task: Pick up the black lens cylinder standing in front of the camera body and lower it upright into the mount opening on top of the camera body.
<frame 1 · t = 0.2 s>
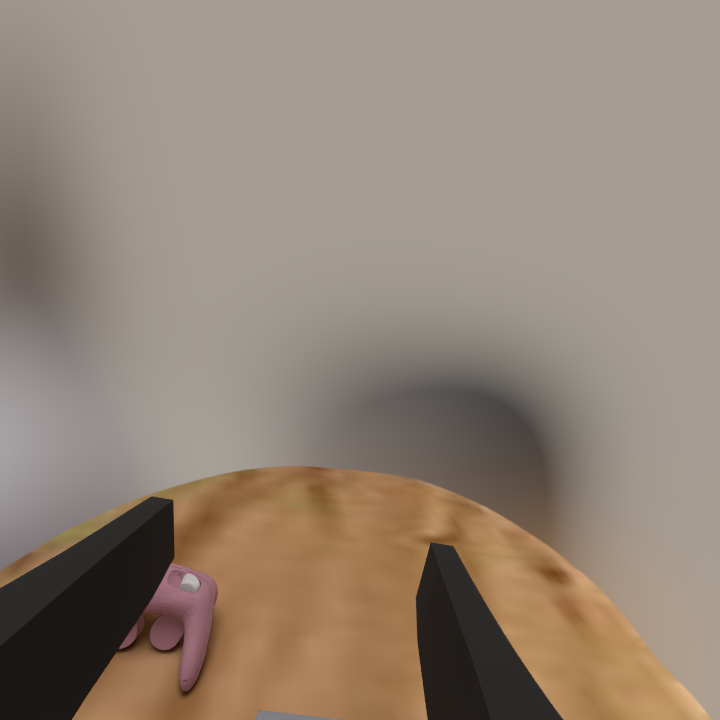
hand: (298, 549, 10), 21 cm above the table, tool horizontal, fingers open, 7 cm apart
pink rounded piece: (143, 651, 26), on the table
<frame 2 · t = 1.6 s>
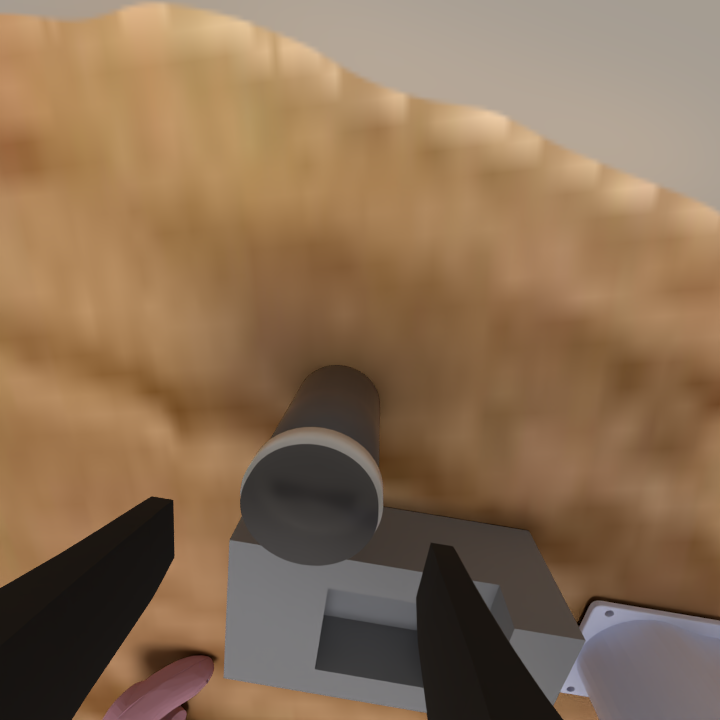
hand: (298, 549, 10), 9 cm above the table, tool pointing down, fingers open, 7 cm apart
lens: (338, 404, 19), on the table
camera body: (378, 572, 22), on the table
pink rounded piece: (185, 687, 27), on the table
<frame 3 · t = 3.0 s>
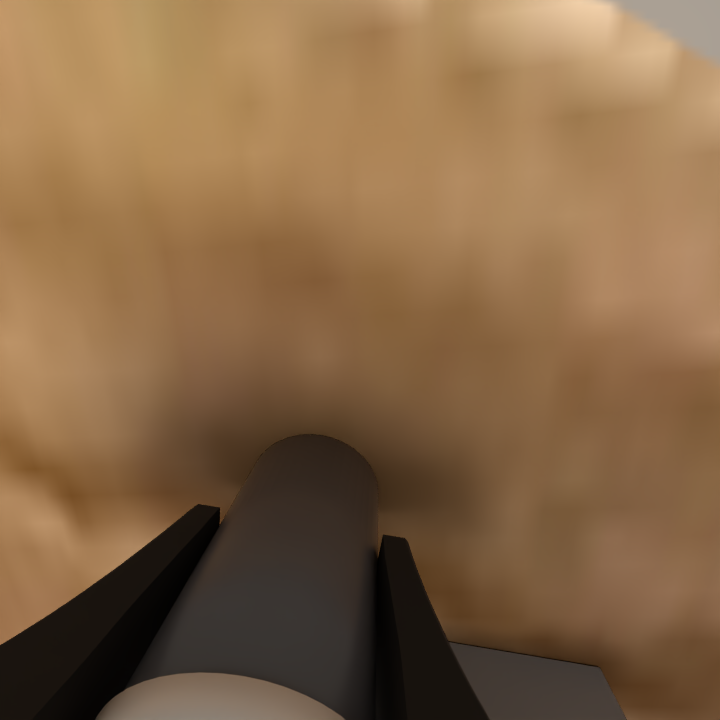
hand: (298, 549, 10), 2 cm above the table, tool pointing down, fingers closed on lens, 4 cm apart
lens: (314, 491, 12), on the table, touching gripper
camera body: (377, 713, 15), on the table
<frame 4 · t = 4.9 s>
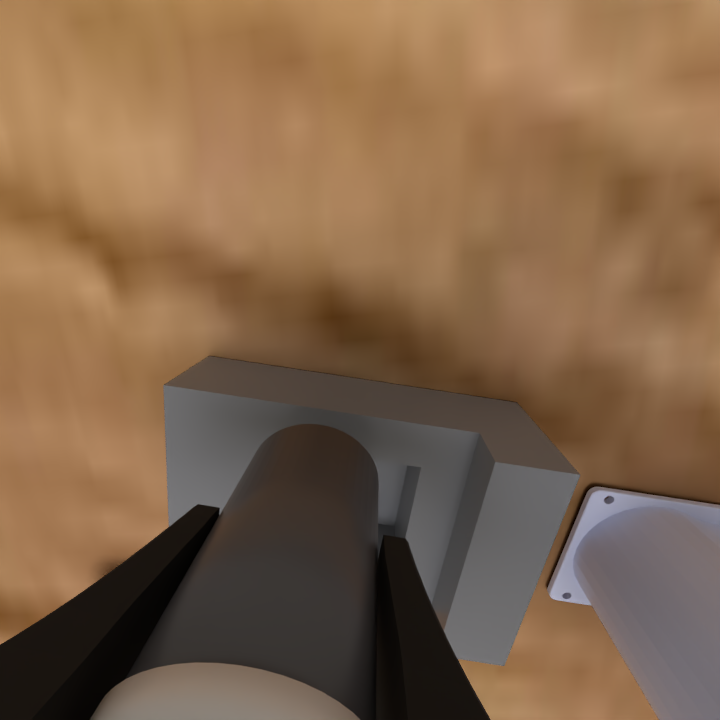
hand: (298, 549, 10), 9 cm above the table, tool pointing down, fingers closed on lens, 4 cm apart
lens: (314, 480, 12), point 7 cm above the table, touching gripper
camera body: (349, 461, 20), on the table
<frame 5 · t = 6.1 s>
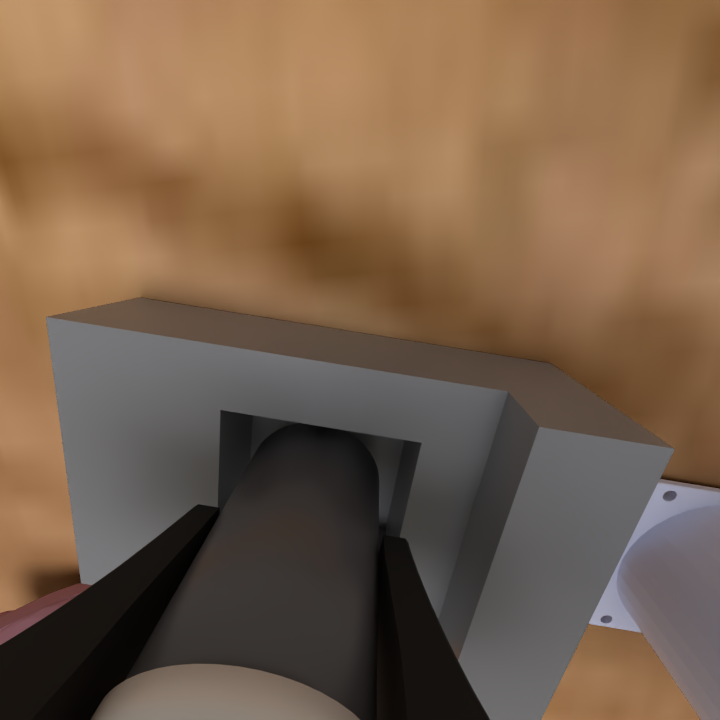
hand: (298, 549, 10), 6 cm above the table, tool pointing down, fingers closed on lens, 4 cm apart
lens: (314, 478, 12), point 3 cm above the table, touching gripper
camera body: (328, 442, 15), on the table
pink rounded piece: (96, 630, 20), on the table
when the fingers open (4 cm above the table, at t = 6.9 s): lens stays where it is, resting on camera body.
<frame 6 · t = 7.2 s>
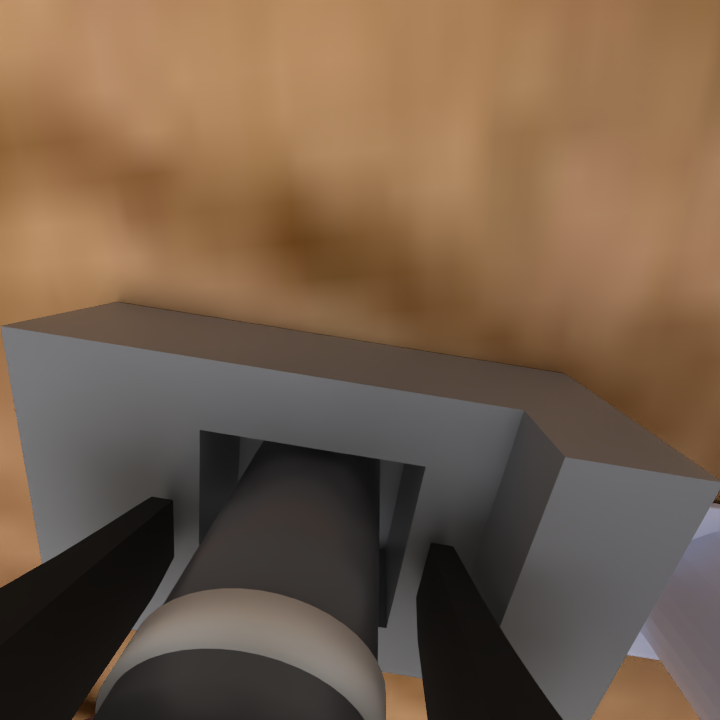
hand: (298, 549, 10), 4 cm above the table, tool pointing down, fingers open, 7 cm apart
lens: (320, 464, 13), point 1 cm above the table, touching camera body
camera body: (323, 458, 14), on the table
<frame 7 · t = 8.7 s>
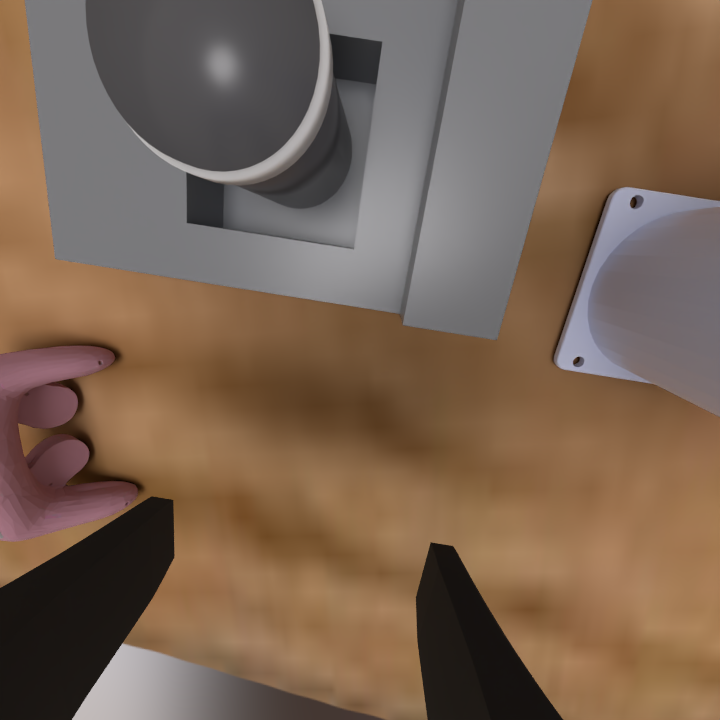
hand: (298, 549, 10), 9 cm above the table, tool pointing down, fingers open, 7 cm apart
lens: (297, 149, 14), point 1 cm above the table, touching camera body
camera body: (302, 166, 15), on the table
pink rounded piece: (88, 419, 20), on the table
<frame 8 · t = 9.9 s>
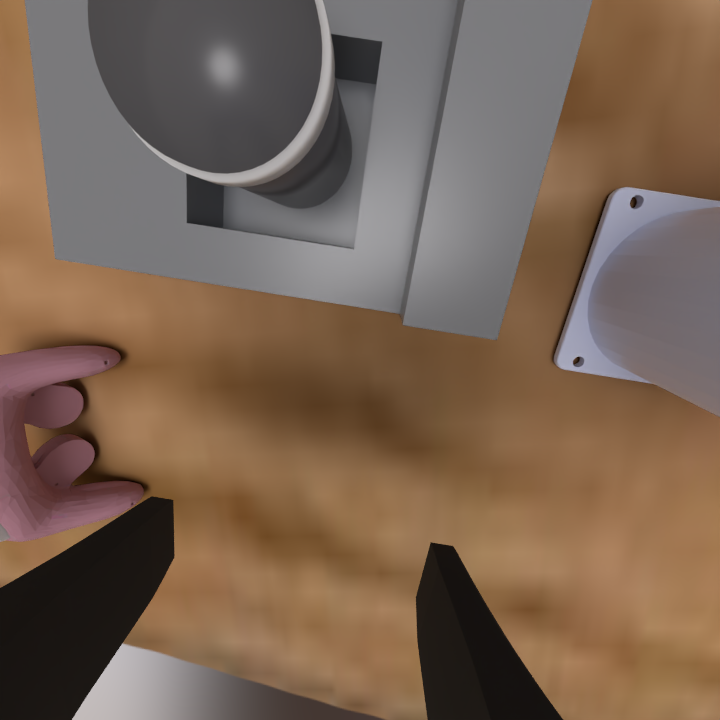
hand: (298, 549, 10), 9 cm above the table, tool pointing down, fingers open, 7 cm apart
lens: (297, 149, 14), point 1 cm above the table, touching camera body
camera body: (302, 166, 15), on the table
pink rounded piece: (93, 419, 20), on the table
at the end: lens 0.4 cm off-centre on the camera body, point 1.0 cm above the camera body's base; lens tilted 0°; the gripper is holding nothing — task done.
